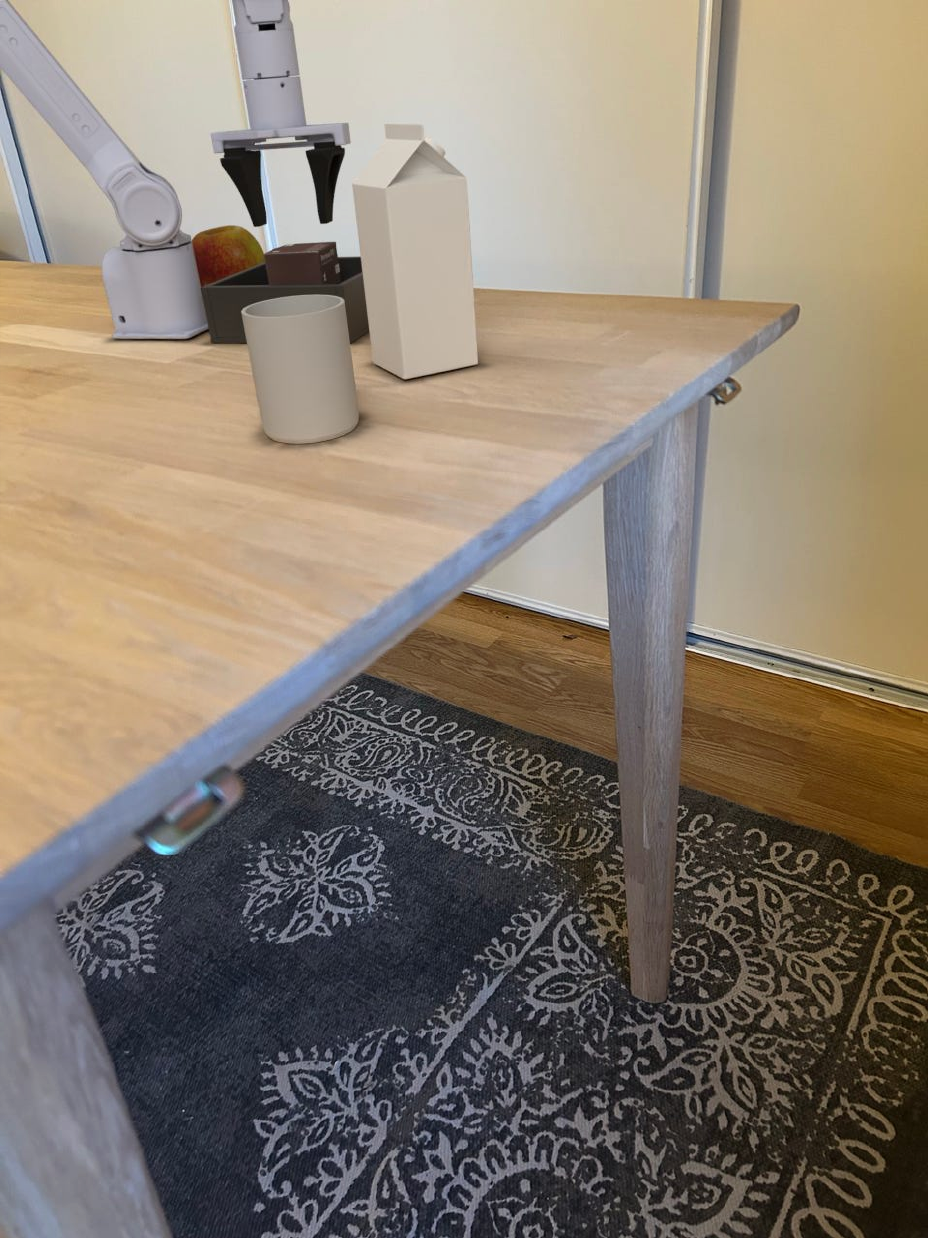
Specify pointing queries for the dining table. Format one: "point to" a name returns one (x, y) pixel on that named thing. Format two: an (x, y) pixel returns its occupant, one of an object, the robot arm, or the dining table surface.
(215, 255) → the fruit
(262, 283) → the dark grey square container
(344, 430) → the cup
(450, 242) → the milk carton
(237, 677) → the dining table surface
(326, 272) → the box
